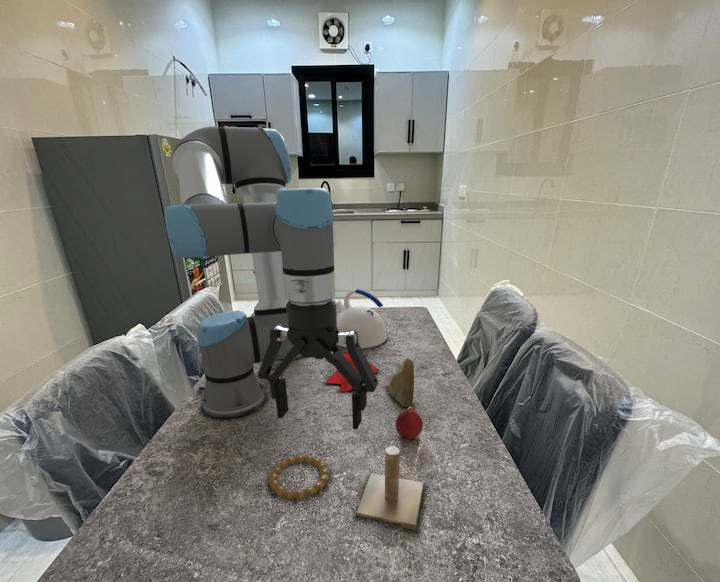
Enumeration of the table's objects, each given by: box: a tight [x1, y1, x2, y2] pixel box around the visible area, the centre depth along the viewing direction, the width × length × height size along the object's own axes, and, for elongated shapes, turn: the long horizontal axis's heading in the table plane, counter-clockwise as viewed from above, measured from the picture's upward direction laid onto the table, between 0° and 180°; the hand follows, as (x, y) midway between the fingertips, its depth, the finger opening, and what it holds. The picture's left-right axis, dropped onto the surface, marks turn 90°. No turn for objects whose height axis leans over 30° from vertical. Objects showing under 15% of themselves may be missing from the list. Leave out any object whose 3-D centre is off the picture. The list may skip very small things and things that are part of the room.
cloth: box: [326, 351, 378, 393], centre depth 115 cm, size 26×14×2 cm, turn 171°
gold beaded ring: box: [268, 454, 330, 500], centre depth 73 cm, size 11×11×2 cm
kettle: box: [336, 288, 388, 350], centre depth 136 cm, size 20×21×18 cm
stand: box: [355, 445, 424, 531], centre depth 65 cm, size 10×10×11 cm
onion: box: [394, 406, 424, 440], centre depth 83 cm, size 6×6×8 cm
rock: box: [387, 358, 415, 408], centre depth 99 cm, size 11×9×10 cm
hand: (319, 419), depth 66 cm, fingers open, 13 cm apart
